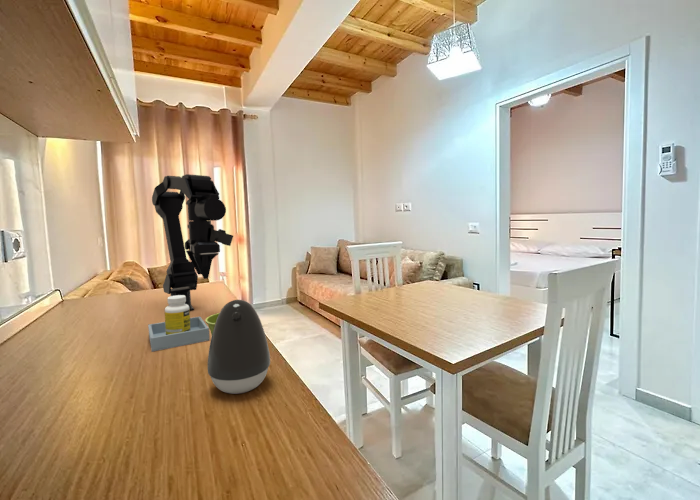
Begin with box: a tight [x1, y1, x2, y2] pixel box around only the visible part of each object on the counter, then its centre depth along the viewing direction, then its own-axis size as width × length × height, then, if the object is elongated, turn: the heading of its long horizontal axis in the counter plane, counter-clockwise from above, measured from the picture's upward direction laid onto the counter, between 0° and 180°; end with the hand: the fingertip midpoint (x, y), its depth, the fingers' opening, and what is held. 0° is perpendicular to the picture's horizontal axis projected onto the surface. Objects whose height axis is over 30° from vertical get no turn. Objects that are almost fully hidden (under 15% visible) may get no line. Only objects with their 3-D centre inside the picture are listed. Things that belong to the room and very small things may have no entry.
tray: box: [147, 316, 211, 352], centre depth 82 cm, size 12×12×3 cm
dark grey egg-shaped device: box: [207, 299, 271, 395], centre depth 57 cm, size 10×10×15 cm
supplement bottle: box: [164, 295, 191, 335], centre depth 82 cm, size 5×5×10 cm
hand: (202, 276), depth 94 cm, fingers open, 9 cm apart
